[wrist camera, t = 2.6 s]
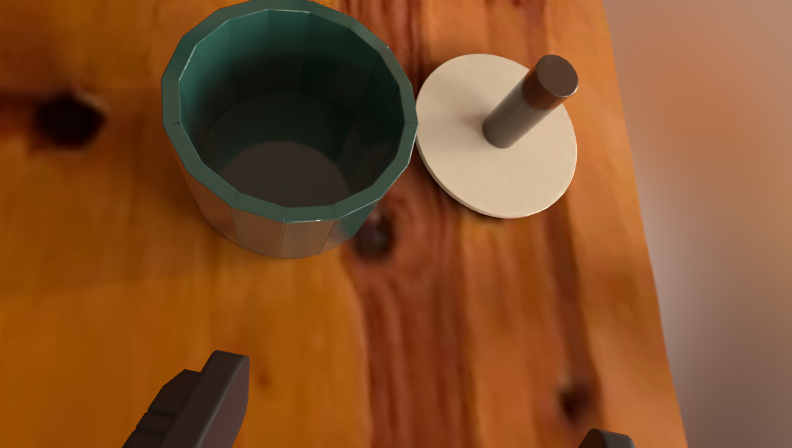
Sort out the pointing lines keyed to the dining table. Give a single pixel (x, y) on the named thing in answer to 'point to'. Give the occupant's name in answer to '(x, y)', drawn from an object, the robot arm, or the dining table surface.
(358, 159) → the green pot
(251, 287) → the dining table surface
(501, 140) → the lid
